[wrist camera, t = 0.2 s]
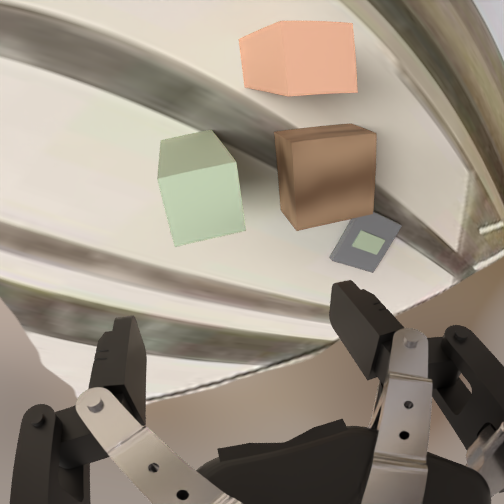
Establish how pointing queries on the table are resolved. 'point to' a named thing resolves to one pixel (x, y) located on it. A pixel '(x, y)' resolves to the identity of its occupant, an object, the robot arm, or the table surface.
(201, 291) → the table surface
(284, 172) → the walnut base
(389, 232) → the tile
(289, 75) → the terracotta pillar
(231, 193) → the sage pillar
